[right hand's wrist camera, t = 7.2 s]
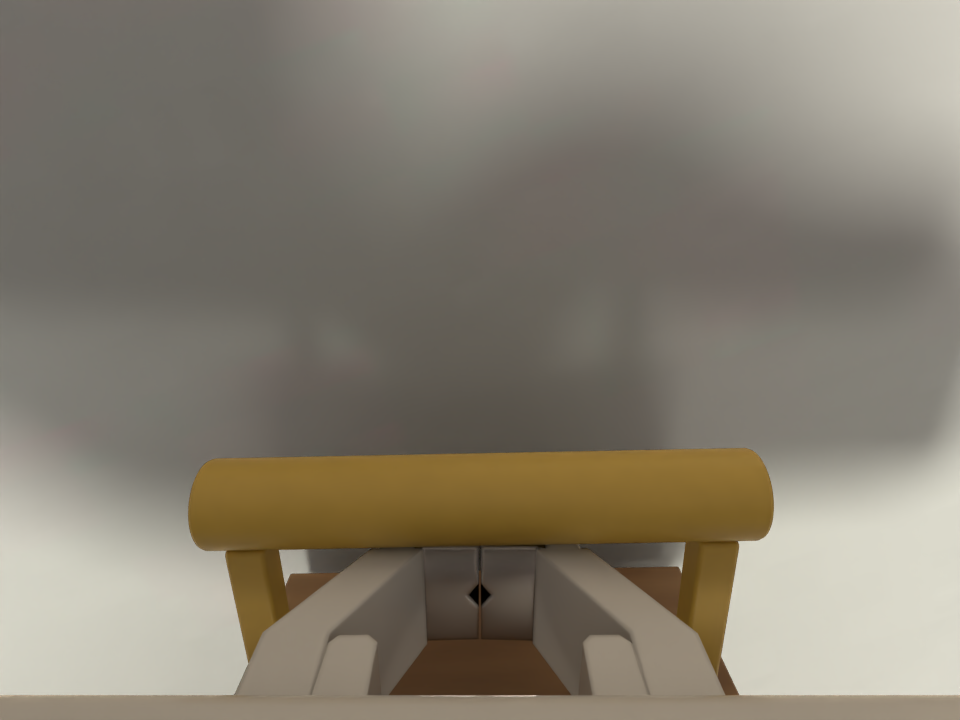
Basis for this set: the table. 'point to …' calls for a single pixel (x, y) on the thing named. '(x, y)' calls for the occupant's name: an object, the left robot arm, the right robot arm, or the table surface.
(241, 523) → the drawer
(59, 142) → the table surface
